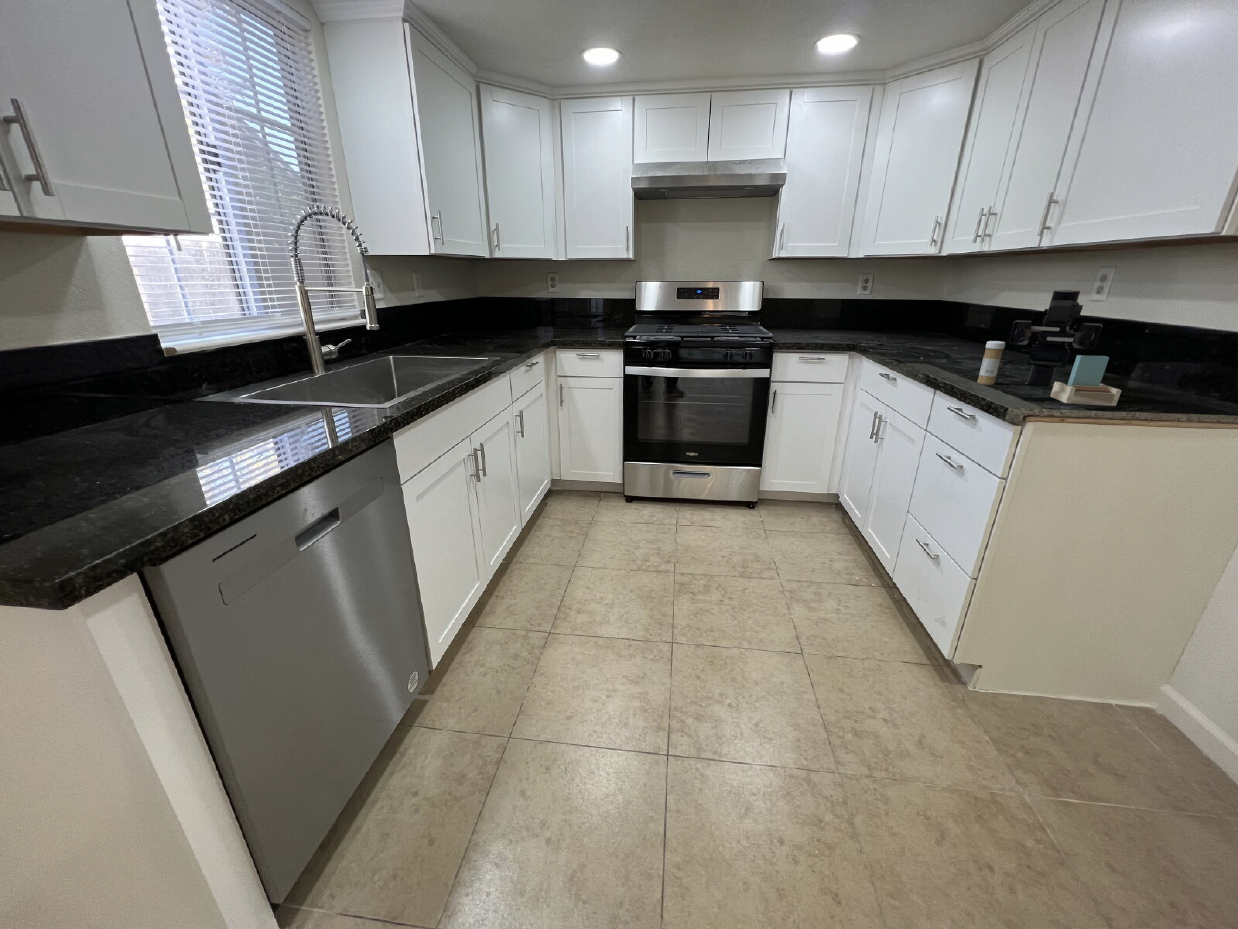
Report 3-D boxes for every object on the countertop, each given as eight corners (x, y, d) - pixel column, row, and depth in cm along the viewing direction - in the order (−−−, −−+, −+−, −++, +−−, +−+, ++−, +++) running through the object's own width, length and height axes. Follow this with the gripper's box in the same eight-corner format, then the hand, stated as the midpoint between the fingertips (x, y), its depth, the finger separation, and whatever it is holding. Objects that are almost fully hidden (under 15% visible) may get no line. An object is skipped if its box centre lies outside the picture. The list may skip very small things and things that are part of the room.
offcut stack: (1064, 399, 132) (1069, 384, 131) (1098, 401, 130) (1103, 386, 128) (1070, 402, 129) (1075, 387, 128) (1105, 404, 127) (1110, 388, 126)
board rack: (1049, 398, 136) (1054, 381, 134) (1095, 401, 133) (1102, 383, 132) (1065, 405, 129) (1071, 387, 127) (1114, 408, 126) (1121, 390, 124)
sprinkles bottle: (995, 385, 153) (1007, 341, 148) (991, 387, 150) (1004, 342, 145) (977, 383, 156) (989, 340, 151) (974, 385, 153) (985, 341, 148)
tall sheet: (1063, 397, 134) (1077, 355, 130) (1089, 399, 132) (1104, 356, 128) (1067, 399, 132) (1081, 356, 128) (1094, 400, 130) (1109, 357, 126)
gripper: (1021, 299, 142) (1014, 306, 131) (1110, 300, 130) (1110, 309, 120) (1011, 338, 146) (1003, 348, 136) (1095, 343, 135) (1094, 354, 124)
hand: (1050, 339), depth 129 cm, fingers open, 9 cm apart
